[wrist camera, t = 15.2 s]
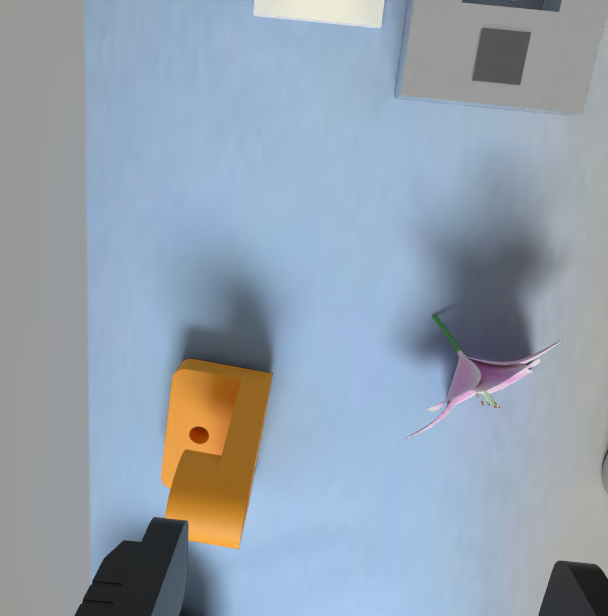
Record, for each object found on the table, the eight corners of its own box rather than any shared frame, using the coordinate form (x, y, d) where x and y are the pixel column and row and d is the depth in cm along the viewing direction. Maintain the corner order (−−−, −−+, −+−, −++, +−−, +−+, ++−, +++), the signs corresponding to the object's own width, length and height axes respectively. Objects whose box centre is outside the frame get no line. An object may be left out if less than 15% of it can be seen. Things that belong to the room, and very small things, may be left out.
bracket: (182, 352, 41) (128, 437, 29) (273, 368, 41) (254, 459, 30) (169, 466, 44) (115, 581, 33) (253, 481, 44) (229, 601, 33)
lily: (364, 399, 43) (421, 502, 36) (366, 288, 35) (439, 392, 28) (491, 358, 45) (568, 446, 38) (519, 245, 37) (622, 331, 30)
